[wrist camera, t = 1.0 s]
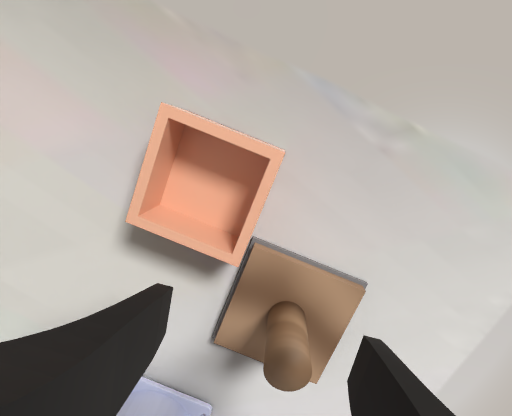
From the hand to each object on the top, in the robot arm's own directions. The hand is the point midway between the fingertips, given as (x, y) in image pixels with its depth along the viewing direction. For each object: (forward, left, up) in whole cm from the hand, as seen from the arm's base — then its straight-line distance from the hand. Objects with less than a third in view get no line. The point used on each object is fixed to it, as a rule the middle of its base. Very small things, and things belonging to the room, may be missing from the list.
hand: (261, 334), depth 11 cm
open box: (+3, +5, -10) cm, 12 cm away
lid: (-4, -3, -10) cm, 11 cm away
